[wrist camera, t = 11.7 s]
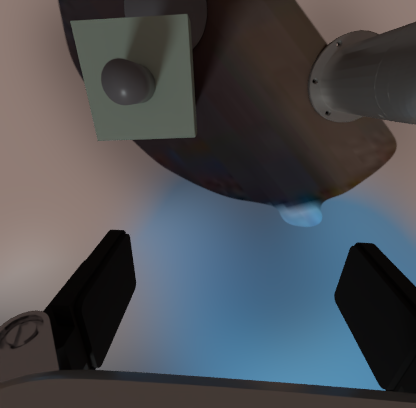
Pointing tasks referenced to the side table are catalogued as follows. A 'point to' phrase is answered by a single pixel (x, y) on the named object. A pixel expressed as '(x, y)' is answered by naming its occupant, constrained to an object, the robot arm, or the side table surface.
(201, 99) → the side table surface
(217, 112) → the side table surface
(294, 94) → the side table surface
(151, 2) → the mat
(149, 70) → the square plate with knob
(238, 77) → the side table surface
